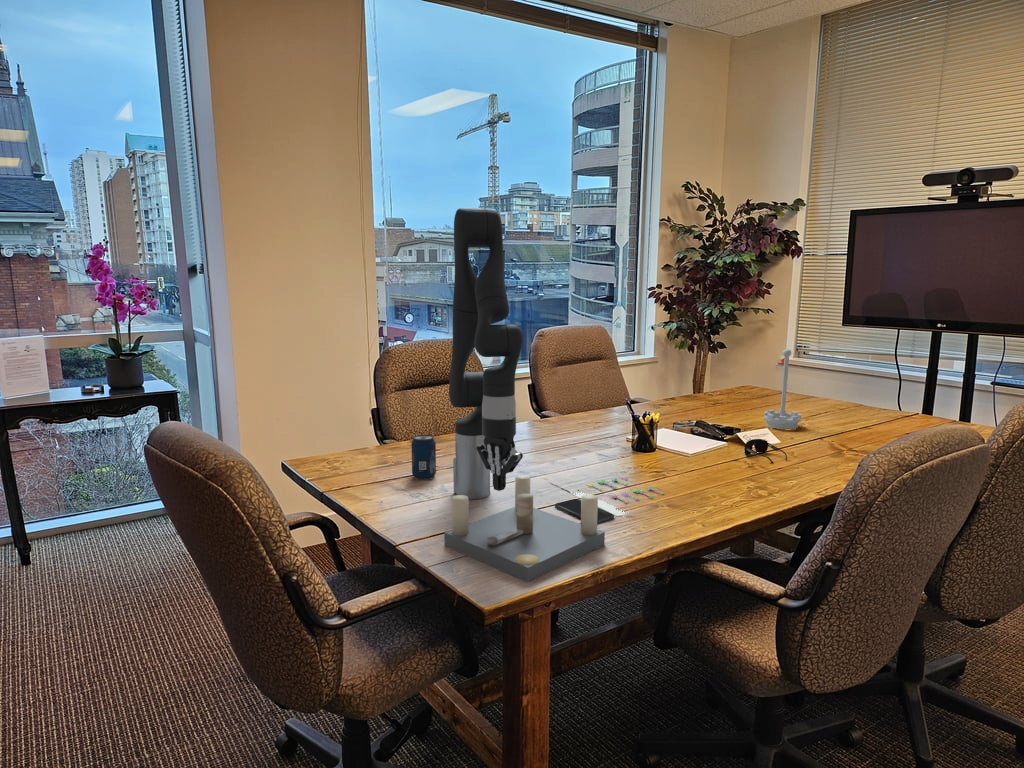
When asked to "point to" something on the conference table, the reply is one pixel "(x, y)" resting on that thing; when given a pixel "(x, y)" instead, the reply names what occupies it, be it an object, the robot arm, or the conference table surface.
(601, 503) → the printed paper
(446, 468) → the conference table surface
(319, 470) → the conference table surface
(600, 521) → the phone
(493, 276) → the robot arm
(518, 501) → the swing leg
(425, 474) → the soda can
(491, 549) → the grey square base plate
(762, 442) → the sunglasses
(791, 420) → the flag stand
